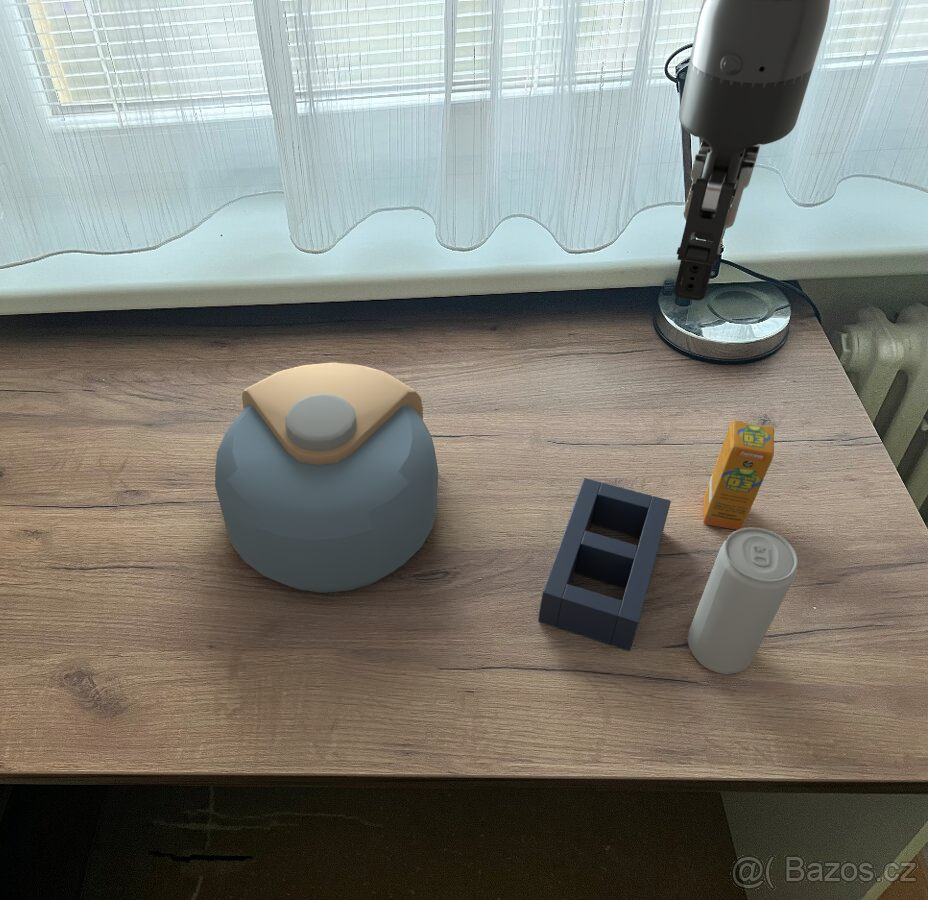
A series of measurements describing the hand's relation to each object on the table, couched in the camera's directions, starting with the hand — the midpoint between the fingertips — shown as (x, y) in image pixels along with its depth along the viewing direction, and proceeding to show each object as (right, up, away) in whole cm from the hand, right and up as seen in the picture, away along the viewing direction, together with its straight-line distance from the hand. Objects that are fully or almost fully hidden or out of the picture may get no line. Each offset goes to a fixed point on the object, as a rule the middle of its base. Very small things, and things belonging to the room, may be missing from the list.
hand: (698, 266), depth 68 cm
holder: (-6, -25, +4) cm, 26 cm away
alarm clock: (-29, -20, +12) cm, 37 cm away
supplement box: (+5, -20, +8) cm, 22 cm away
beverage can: (+1, -30, -1) cm, 30 cm away
